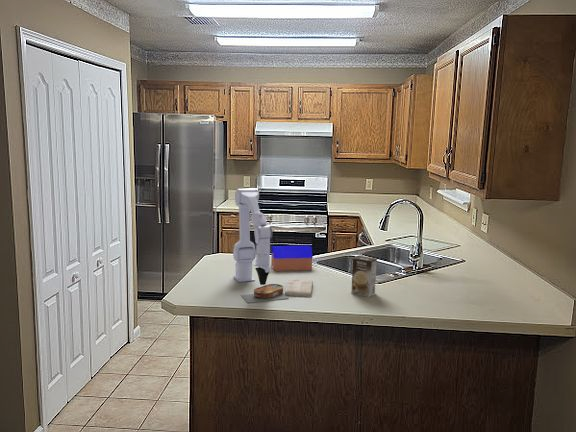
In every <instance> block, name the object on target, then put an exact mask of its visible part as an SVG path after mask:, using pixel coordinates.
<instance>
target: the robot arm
mask: <svg viewBox="0 0 576 432" xmlns="http://www.w3.org/2000/svg"><path fill="white" fill-rule="evenodd" d="M259 199H260V192H259V189H258V188H257V187H253V188H251V187H250V188H236V190H235V192H234V200H235V206H237V207H238V217H239V218H238V219H239V220H238V222H239V227H238V229H239V240H238V241H237V242H236V243H235V244H234V245H233V250H232V256H233V259H234V261H235V275H233V278H234V279H235V280H236V281H237V282H238V283H242V282H251V281H252V282H253V281H255V280H256V279H255V278H254V277H253V266H254V267H255V271H256V274H257V277H258V281H259V284H260V286H265V285H267V280H268V276H269V274H270V273H271V268H272V267H271V262H270V259H271V257H270V256H271V239H272V238H273V228H272V226H271V225H270V224H269V223H268V222H267V219H266V217H265V214H264V213H263V212H262V211H261V210H260V206H259ZM250 214H251V215H250ZM250 216H251V217H250ZM250 220H251V223H252V225H253V228H254V230H253V231H254V233H253V235H254V241H255V244H254V242H253V241H251V234H250V233H251V232H250V231H251V230H250V228H251V227H250V224H251V223H250ZM254 260H255V263H253V262H254Z"/></svg>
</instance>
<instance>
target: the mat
mask: <svg viewBox="0 0 576 432" xmlns="http://www.w3.org/2000/svg"><path fill="white" fill-rule="evenodd" d="M240 296H241V297H242V299H244V302H246V303H247V304H254V303H261V302H270V301H271V302H272V301H273V302H274V301H281V300H289V296H287V295H285V293H284V292H283V293H282V294H280V295H277V296H274V297H272V298H268V299H261V298H257V297H255V296H254V293H248V294H241V295H240Z"/></svg>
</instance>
